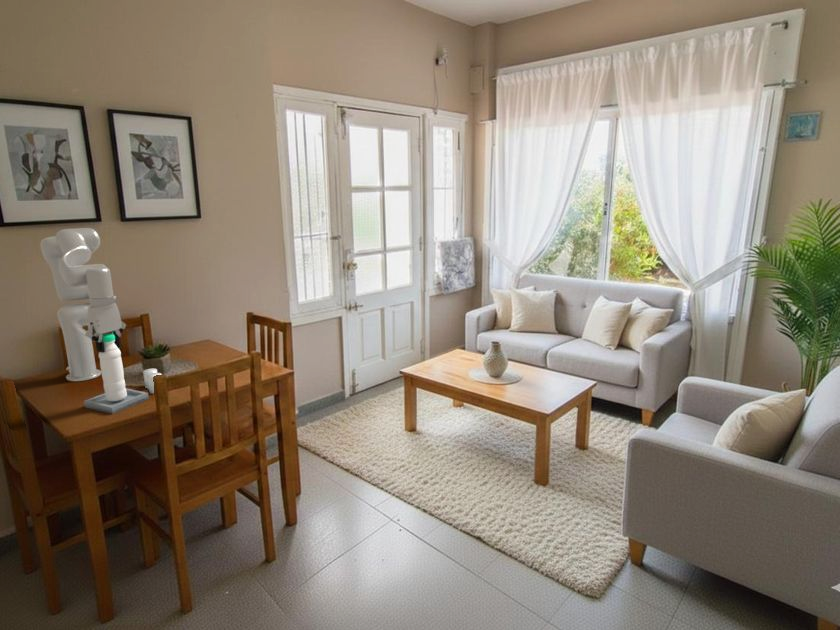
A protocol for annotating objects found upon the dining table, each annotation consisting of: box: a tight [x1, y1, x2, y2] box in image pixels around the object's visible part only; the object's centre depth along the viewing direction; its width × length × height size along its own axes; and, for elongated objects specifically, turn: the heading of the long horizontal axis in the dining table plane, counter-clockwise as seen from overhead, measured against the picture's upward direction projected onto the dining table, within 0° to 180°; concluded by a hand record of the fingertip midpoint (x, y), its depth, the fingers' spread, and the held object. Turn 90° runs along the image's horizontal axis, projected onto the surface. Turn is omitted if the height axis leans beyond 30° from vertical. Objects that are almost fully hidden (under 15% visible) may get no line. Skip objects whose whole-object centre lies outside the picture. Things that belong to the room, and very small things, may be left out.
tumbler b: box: [142, 367, 158, 390], centre depth 208 cm, size 5×5×7 cm
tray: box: [83, 387, 150, 415], centre depth 193 cm, size 15×15×2 cm
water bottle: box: [98, 333, 127, 401], centre depth 190 cm, size 7×7×25 cm
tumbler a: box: [147, 372, 163, 395], centre depth 203 cm, size 5×5×7 cm
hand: (109, 348), depth 188 cm, fingers closed on water bottle, 5 cm apart
